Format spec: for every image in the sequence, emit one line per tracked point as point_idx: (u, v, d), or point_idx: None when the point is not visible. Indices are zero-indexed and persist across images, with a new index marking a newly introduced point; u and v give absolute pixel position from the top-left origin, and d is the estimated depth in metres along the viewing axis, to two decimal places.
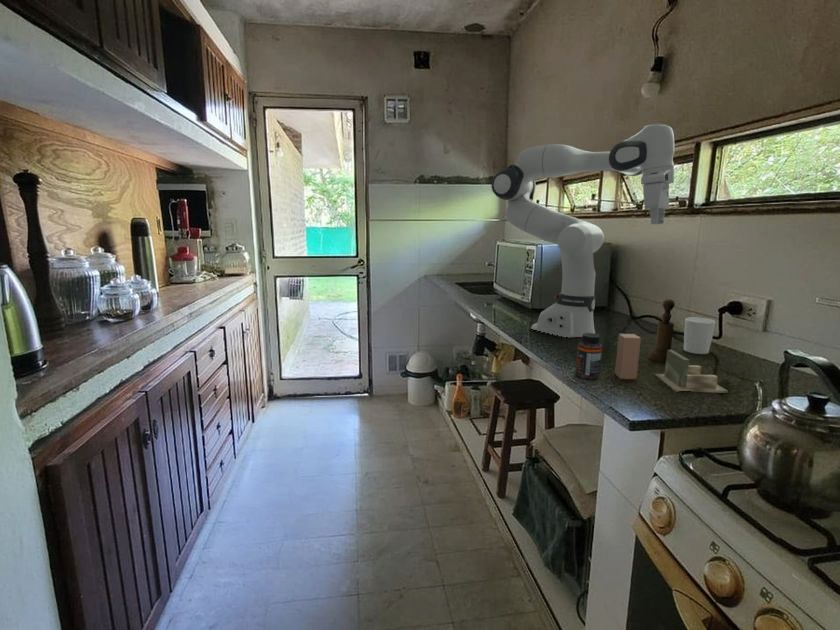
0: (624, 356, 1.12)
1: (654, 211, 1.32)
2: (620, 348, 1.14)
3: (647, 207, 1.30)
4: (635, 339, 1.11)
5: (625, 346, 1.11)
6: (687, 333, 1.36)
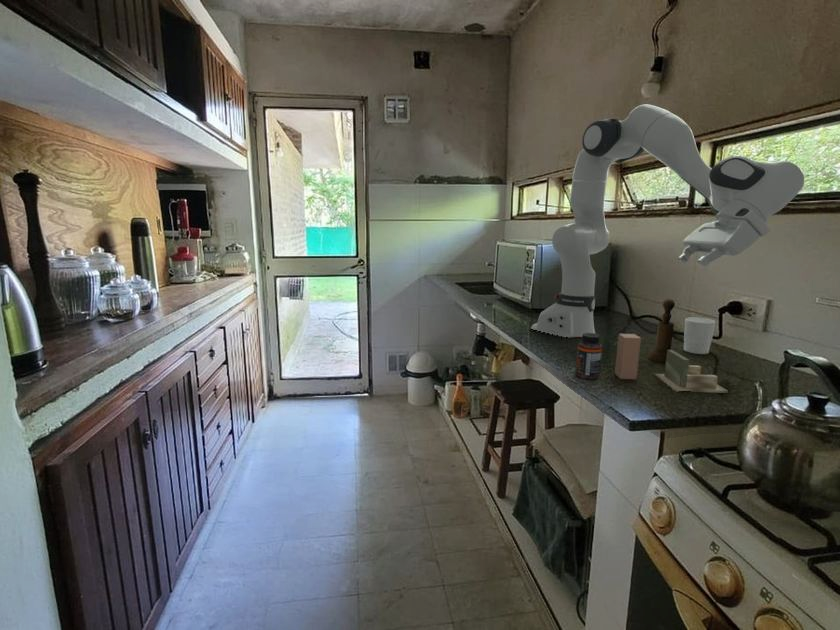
0: (624, 356, 1.12)
1: (719, 253, 1.01)
2: (620, 348, 1.14)
3: (728, 246, 0.97)
4: (635, 339, 1.11)
5: (625, 346, 1.11)
6: (687, 333, 1.36)
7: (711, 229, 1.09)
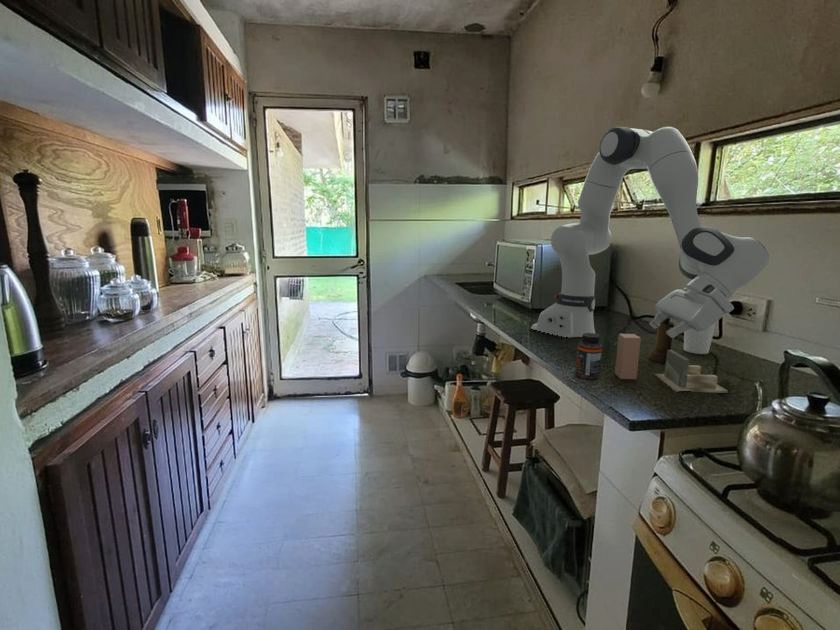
0: (624, 356, 1.12)
1: (686, 327, 1.05)
2: (620, 348, 1.14)
3: (693, 323, 1.01)
4: (635, 339, 1.11)
5: (625, 346, 1.11)
6: (687, 333, 1.36)
7: (681, 298, 1.13)
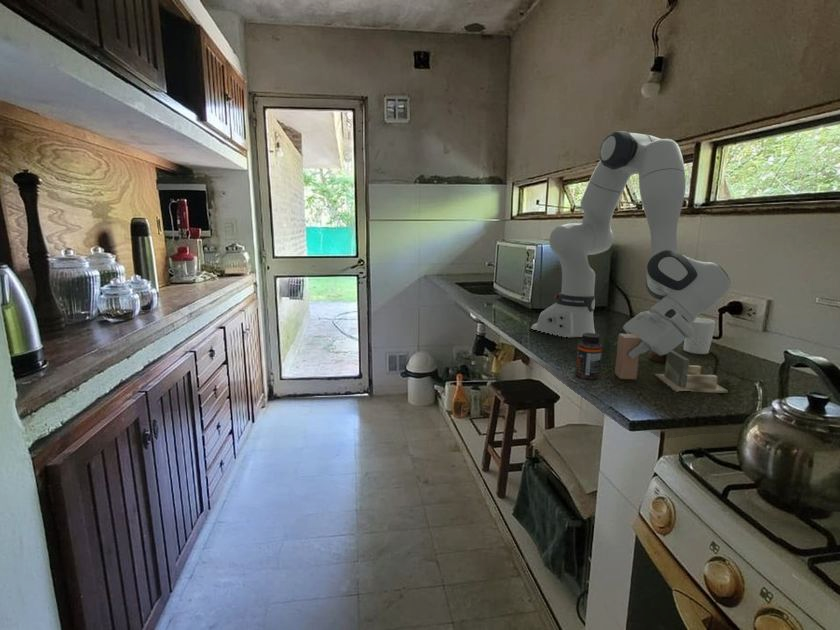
0: (624, 356, 1.12)
1: (645, 348, 1.08)
2: (620, 348, 1.14)
3: (655, 347, 1.03)
4: (635, 339, 1.11)
5: (625, 346, 1.11)
6: None
7: (647, 320, 1.14)
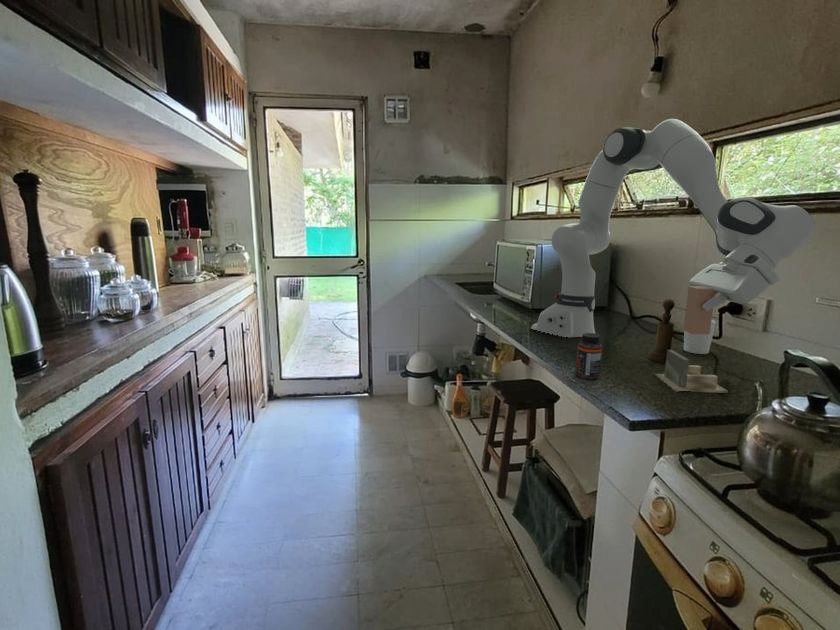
0: (696, 309, 1.04)
1: (722, 299, 1.00)
2: (691, 301, 1.05)
3: (736, 295, 0.95)
4: (709, 290, 1.03)
5: (698, 298, 1.03)
6: (687, 333, 1.36)
7: (719, 272, 1.06)
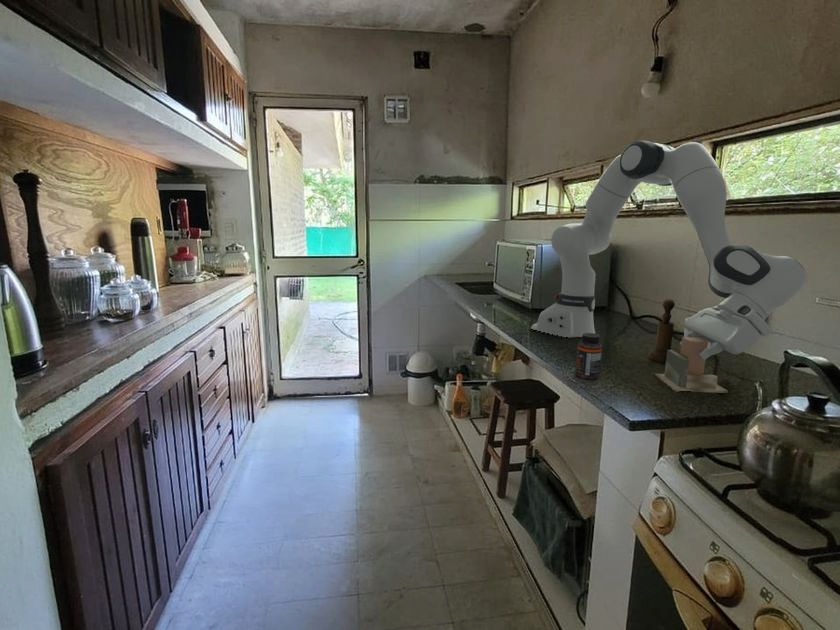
0: (689, 361, 1.07)
1: (719, 349, 1.01)
2: (684, 352, 1.08)
3: (729, 346, 0.97)
4: (702, 343, 1.06)
5: (691, 350, 1.06)
6: None
7: (713, 317, 1.09)
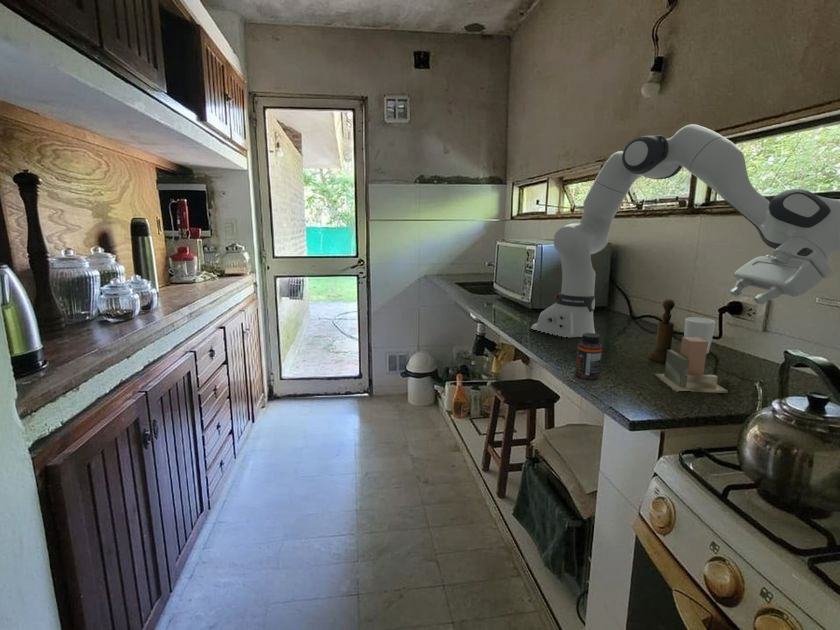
0: (689, 361, 1.07)
1: (778, 293, 0.99)
2: (684, 352, 1.08)
3: (789, 287, 0.95)
4: (702, 343, 1.06)
5: (691, 350, 1.06)
6: (687, 333, 1.36)
7: (767, 264, 1.07)
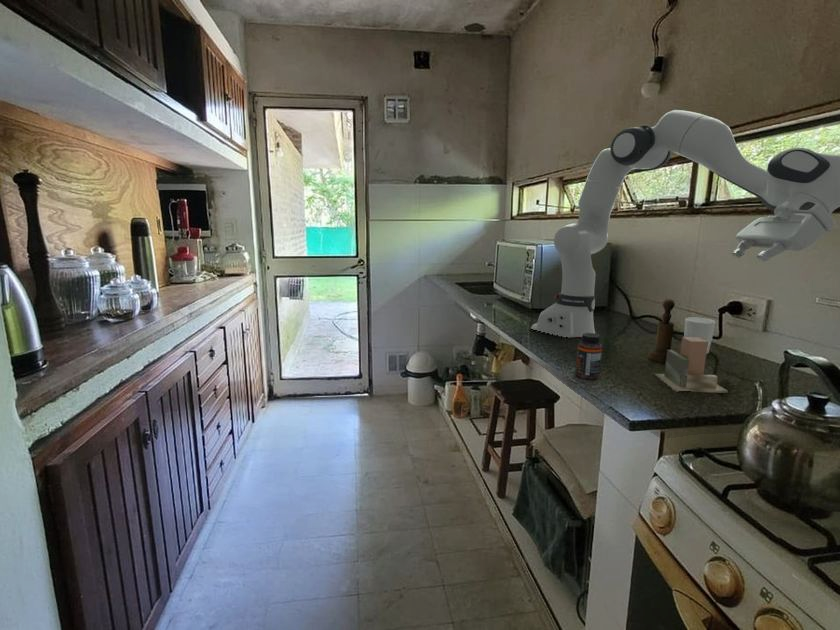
0: (689, 361, 1.07)
1: (781, 248, 0.98)
2: (684, 352, 1.08)
3: (793, 241, 0.94)
4: (702, 343, 1.06)
5: (691, 350, 1.06)
6: (687, 333, 1.36)
7: (769, 223, 1.05)
